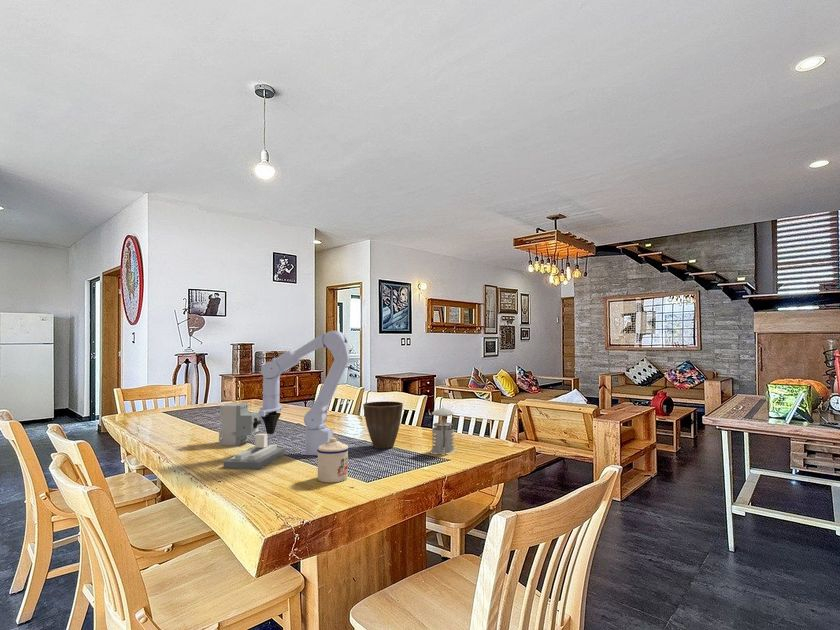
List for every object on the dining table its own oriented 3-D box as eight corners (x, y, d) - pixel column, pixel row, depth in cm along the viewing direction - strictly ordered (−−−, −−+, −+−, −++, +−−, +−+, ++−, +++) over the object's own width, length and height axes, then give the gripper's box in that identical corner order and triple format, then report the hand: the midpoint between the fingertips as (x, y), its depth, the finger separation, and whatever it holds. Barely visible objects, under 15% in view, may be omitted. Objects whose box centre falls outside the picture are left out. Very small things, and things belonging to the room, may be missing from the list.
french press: (455, 448, 172) (454, 380, 173) (459, 456, 160) (458, 383, 161) (428, 448, 171) (428, 380, 173) (430, 456, 160) (430, 383, 161)
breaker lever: (258, 450, 160) (259, 433, 161) (267, 450, 160) (267, 433, 160) (254, 452, 158) (254, 435, 158) (263, 452, 157) (263, 435, 157)
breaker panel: (254, 452, 166) (254, 442, 167) (286, 453, 165) (286, 443, 165) (223, 467, 147) (223, 456, 147) (259, 469, 145) (259, 457, 145)
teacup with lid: (343, 484, 130) (343, 441, 130) (312, 482, 131) (312, 441, 132) (354, 471, 142) (354, 433, 142) (326, 470, 143) (326, 432, 143)
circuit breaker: (255, 445, 178) (256, 405, 179) (218, 445, 179) (219, 405, 179) (262, 440, 186) (263, 402, 186) (227, 440, 186) (227, 403, 187)
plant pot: (357, 450, 169) (357, 406, 170) (370, 441, 184) (370, 400, 184) (396, 452, 166) (396, 407, 167) (407, 443, 180) (407, 401, 181)
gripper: (270, 392, 174) (269, 429, 174) (250, 397, 160) (249, 437, 159) (287, 393, 173) (287, 430, 173) (269, 398, 159) (269, 438, 158)
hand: (270, 433), depth 166 cm, fingers closed
